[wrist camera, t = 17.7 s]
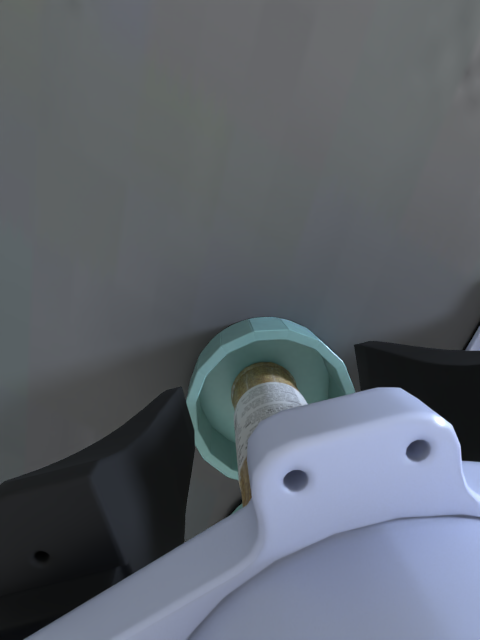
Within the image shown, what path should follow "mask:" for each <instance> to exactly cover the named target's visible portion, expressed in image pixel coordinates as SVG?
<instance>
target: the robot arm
mask: <svg viewBox="0 0 480 640" xmlns="http://www.w3.org/2000/svg"><path fill="white" fill-rule="evenodd" d="M354 347H355V354H356V360H357V367H358V373H359V380H360V386H361V391H360V392H356V393H352V394H348V395H344V396H340V397H336V398H332V399H328V400H323V401H319V402H315V403H311V404H307V405H303V406H299V407H295V408H291V409H286V410H282V411H280V412H278V413H276V414H274V415H272V416H270V417H268V418H266V419H264V420H262V421H260V423H259V424H258V426H257V427H256V428H255V430H254V431H253V433H252V434H251V436H250V437H249V439H248V445H247V465H248V473H249V480H250V488H251V496H252V498H251V500H250V501H249V503H248V504H247V505H246V506H245V507H243V508H241V509H240V510H238V511H236V512H235V513H233V514H231V515H230V516H228V517H226V518H225V519H223V520H221V521H220V522H218V523H216V524H215V525H213V526H211V527H210V528H208V529H206V530H205V531H203V532H201V533H200V534H198V535H196V536H195V537H193V538H191V539H190V540H188V541H186V542H185V543H184V532H185V512H186V503H187V497H188V490H189V484H190V478H191V472H192V465H193V459H194V452H195V430H194V427H193V424H192V420H191V417H190V413H189V410H188V407H187V403H186V400H185V397H184V393H183V390H182V387H178V388H174V389H170V390H166V391H164V392H163V393H162V394H160V395H159V396H158V397H157V398H155V399H154V400H153V401H152V402H151V403H150V404H148V405H147V406H146V407H145V408H144V409H143V410H141V411H140V412H139V413H138V414H136V415H135V416H134V417H133V418H131V419H130V420H129V421H128V422H126V423H125V424H124V425H122V426H121V427H120V428H118V429H117V430H115V431H114V432H112V433H111V434H109V435H108V436H106V437H105V438H103V439H101V440H100V441H98V442H96V443H94V444H92V445H90V446H89V447H87V448H85V449H83V450H81V451H79V452H78V453H76V454H73V455H71V456H69V457H67V458H65V459H63V460H60V461H58V462H56V463H53V464H51V465H49V466H46V467H44V468H41V469H39V470H36V471H33V472H30V473H28V474H25V475H22V476H19V477H16V478H14V479H11V480H8V481H4V482H3V483H2V484H1V485H0V640H480V326H479V328H478V329H477V331H476V333H475V335H474V336H473V338H472V340H471V341H470V343H469V345H468V346H467V348H466V350H443V349H432V348H423V347H415V346H408V345H401V344H394V343H387V342H379V341H368V342H364V343H360V344H356V345H354Z"/></svg>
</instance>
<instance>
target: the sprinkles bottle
mask: <svg viewBox="0 0 480 640" xmlns="http://www.w3.org/2000/svg"><path fill="white" fill-rule="evenodd" d="M231 399H232V404H233V407H234V410H235V412H234V429H235V441H236V453H237V465H238V477H239V486H240V490H241V494H242V505H243V507H245V506H246V505H247V504H248V503H249V501H250V500H251V498H252V496H251V488H250V480H249V473H248V465H247V445H248V439H249V437H250V436H251V434H252V433H253V431H254V430H255V428H256V427H257V426H258V424H259V423H260V421H262V420H264V419H266V418H268V417H270V416H272V415H274V414H276V413H278V412H280V411H282V410H286V409H291V408H295V407H299V406H303V405H307V402H306V400H305V399H304V397H303V396H302V395H301V393H300V392H299V390H298V388H297V386H296V382H295V379H294V378H293V376H292V375H291V374H290V372H289V371H288V370H286V369H285V368H284V367H282V366H280V365H278V364H275V363H272V362H259V363H255V364H252V365H250V366H248V367H245V368H244V369H243V370H242V371H241V372H240V373H239V374H238V376H237V377H236V378H235V381H234V382H233V385H232V389H231Z"/></svg>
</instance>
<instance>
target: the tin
mask: <svg viewBox="0 0 480 640" xmlns="http://www.w3.org/2000/svg"><path fill="white" fill-rule="evenodd" d="M259 362H272V363H275V364H278V365H280V366H282V367H284V368H285V369H286V370H288V371H289V372H290V374H291V375H292V376H293V378H294V379H295V382H296V386H297V388H298V390H299V392H300V393H301V395H302V396H303V397H304V399H305V400H306V402H307V404H311V403H315V402H319V401H323V400H328V399H332V398H336V397H340V396H344V395H348V394H352V393H355V389H354V387H353V384H352V382H351V379H350V377H349V374H348V371H347V369H346V366H345V364H344V362H343V361H342V360H341V359H340V358H339V357H338V356H337V355H335V354H334V353H333V352H332V351H331V350H330V349H329V348H328V347H327V346H326V345H325V344H324V343H323V342H322V341H321V340H320V339H319V338H317V337H316V336H315V335H314V334H313V333H312V332H311V331H310V330H309V329H308V328H306V327H303V326H301V325H299V324H297V323H294V322H292V321H289V320H286V319H282V318H275V317H258V318H251V319H247V320H243V321H240V322H238V323H235V324H233V325H231V326H229V327H227V328H226V329H224V330H223V331H221V332H220V333H219V334H217V335H216V336H215V337H214V338H213V339H212V340H211V341H210V342H209V343H208V344H207V346H206V347H205V348H204V349H203V351H202V352H201V354H200V355H199V358H198V360H197V362H196V365H195V368H194V371H193V374H192V377H191V380H190V384H189V389H188V393H187V398H186V403H187V407H188V410H189V413H190V417H191V420H192V424H193V427H194V430H195V445H196V447H197V449H198V451H199V453H200V454H201V456H202V458H203V459H204V460H205V461H207V462H208V463H209V464H210V465H212V466H213V467H214V468H216V469H217V470H218V471H220V472H221V473H222V474H224V475H225V476H226V477H229V478H232V479H236V480H239V477H238V465H237V453H236V441H235V429H234V412H235V410H234V407H233V404H232V399H231V389H232V385H233V382H234V381H235V378H236V377H237V376H238V374H239V373H240V372H241V371H242V370H243V369H244V368H245V367H248V366H250V365H252V364H255V363H259Z"/></svg>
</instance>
